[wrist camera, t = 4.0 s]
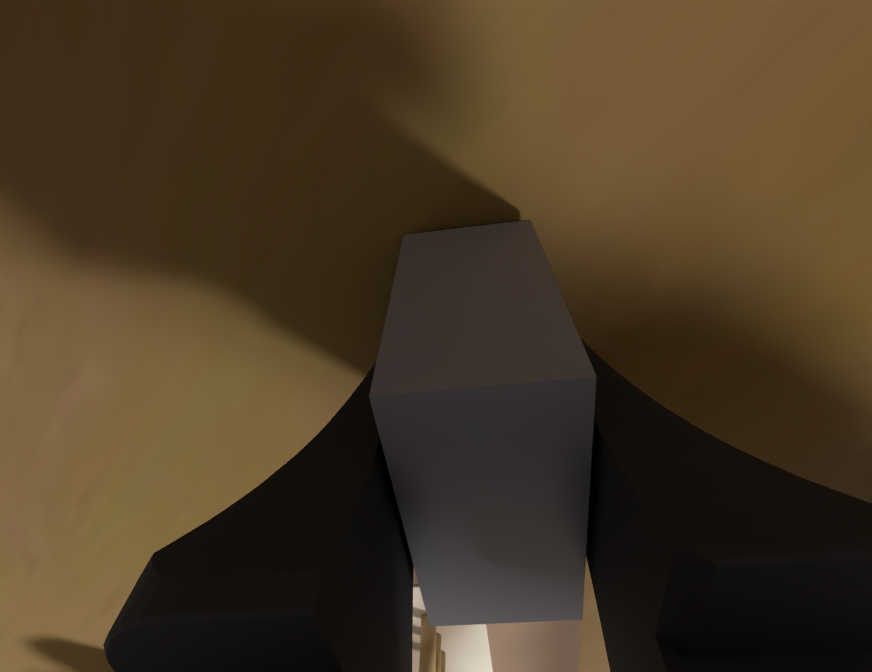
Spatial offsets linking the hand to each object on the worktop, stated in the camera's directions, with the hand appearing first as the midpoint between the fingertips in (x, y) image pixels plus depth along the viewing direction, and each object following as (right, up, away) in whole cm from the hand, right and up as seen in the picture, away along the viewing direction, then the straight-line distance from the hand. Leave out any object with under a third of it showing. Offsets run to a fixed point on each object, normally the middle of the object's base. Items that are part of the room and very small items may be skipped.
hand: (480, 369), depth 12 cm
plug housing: (0, +1, +1) cm, 2 cm away
